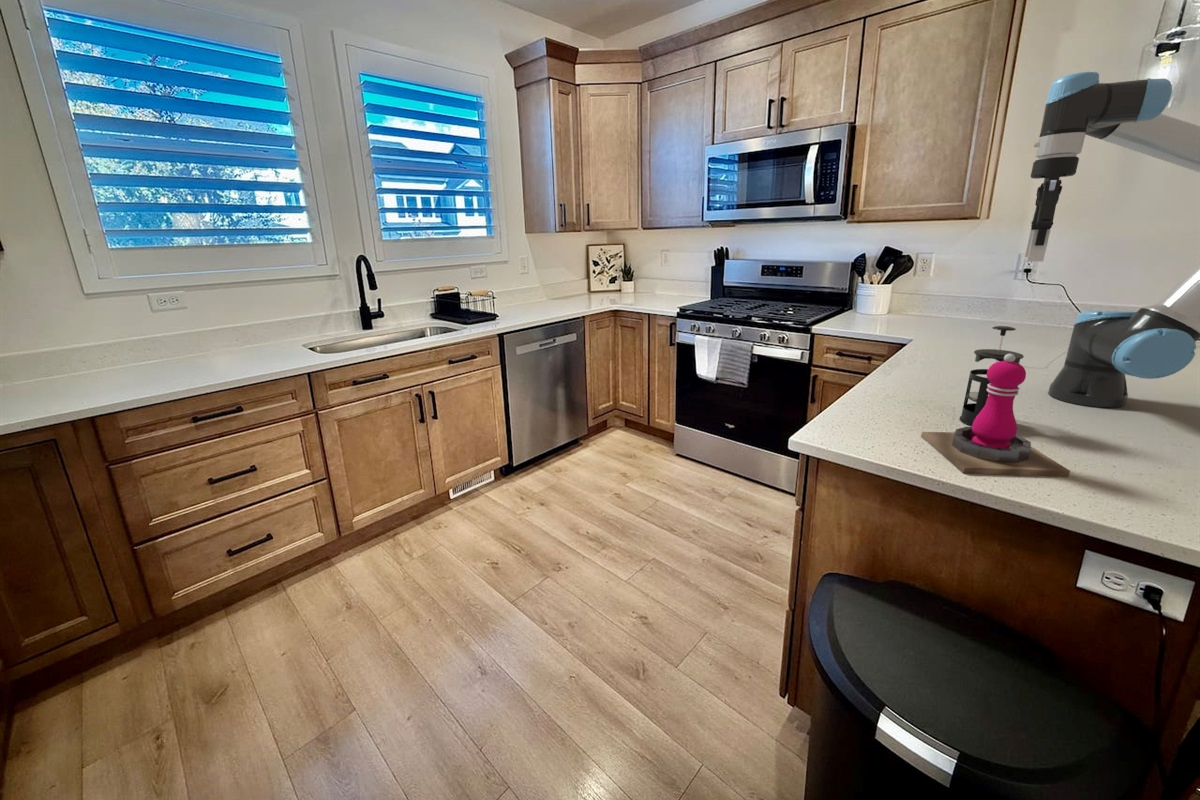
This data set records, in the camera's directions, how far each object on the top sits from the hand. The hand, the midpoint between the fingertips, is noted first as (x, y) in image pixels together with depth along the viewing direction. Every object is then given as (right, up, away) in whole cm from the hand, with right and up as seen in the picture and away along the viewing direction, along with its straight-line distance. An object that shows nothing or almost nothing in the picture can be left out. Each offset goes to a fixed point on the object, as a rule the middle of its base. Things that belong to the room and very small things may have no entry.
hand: (1033, 259), depth 117 cm
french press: (-8, -38, +5) cm, 39 cm away
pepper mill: (-20, -42, -12) cm, 48 cm away
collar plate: (-20, -44, -12) cm, 49 cm away
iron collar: (-20, -42, -12) cm, 48 cm away
